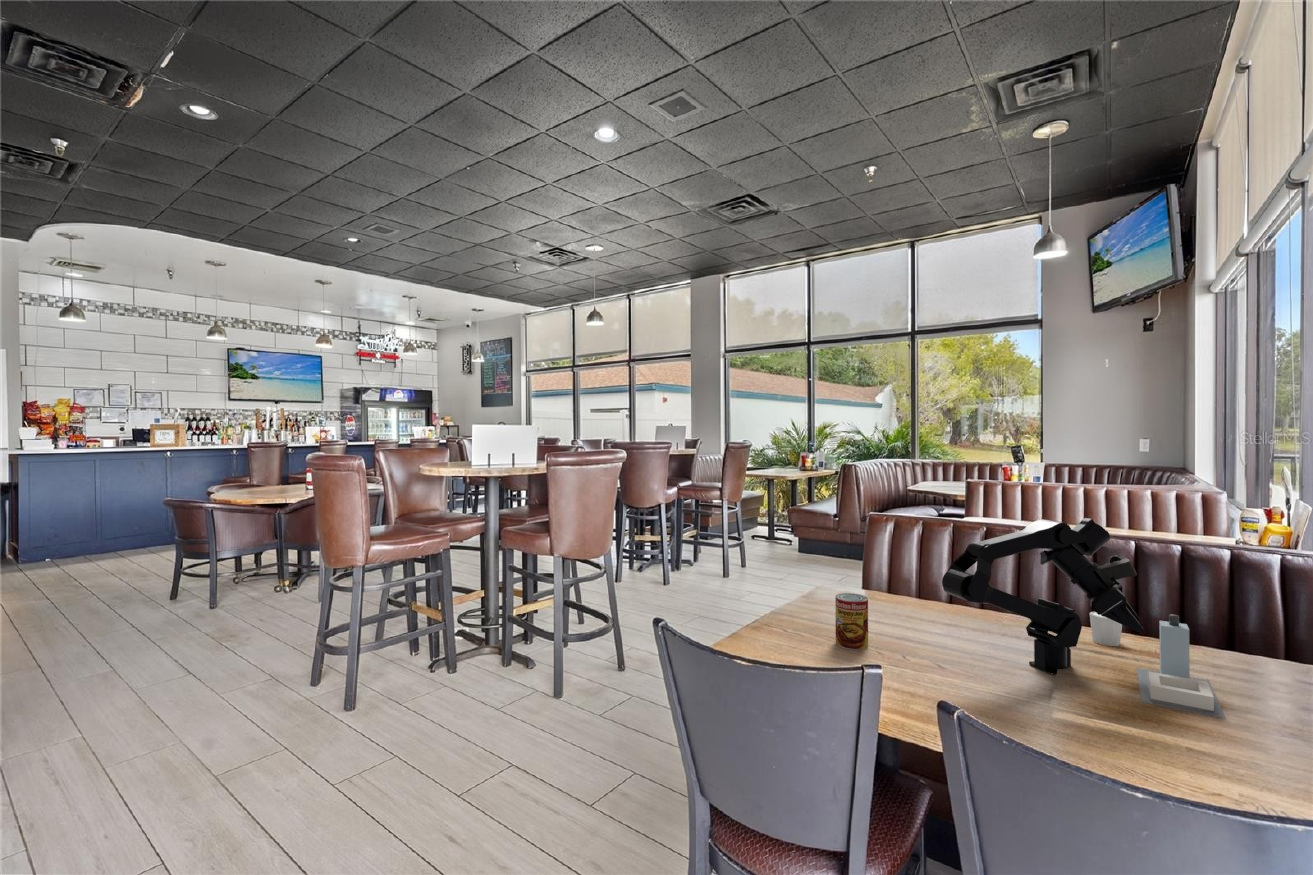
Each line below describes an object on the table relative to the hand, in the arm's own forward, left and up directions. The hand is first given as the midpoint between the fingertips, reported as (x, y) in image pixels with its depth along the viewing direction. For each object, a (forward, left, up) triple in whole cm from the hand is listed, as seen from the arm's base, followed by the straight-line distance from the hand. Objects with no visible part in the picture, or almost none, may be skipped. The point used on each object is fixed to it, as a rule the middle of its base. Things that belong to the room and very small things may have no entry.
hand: (1139, 625), depth 129 cm
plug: (+4, -4, -11) cm, 12 cm away
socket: (-3, -11, -11) cm, 16 cm away
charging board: (0, -8, -12) cm, 14 cm away
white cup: (+15, +23, -12) cm, 30 cm away
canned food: (-50, +31, -12) cm, 60 cm away
